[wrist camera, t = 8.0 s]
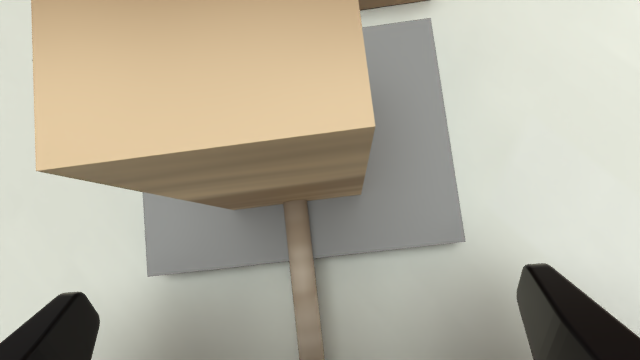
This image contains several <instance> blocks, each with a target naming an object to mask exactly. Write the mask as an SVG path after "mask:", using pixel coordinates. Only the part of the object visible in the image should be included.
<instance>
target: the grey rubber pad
mask: <svg viewBox="0 0 640 360" xmlns="http://www.w3.org/2000/svg"><path fill="white" fill-rule="evenodd" d="M362 31H363V39H364V46H365V53H366V61H367V68H368V75H369V83H370V90H371V97H372V105H373V112H374V119H375V131H374V136H373V140H372V145H371V150H370V154H369V159H368V164H367V169H366V173H365V178H364V183H363V188H362V192H361V195H353V196H345V197H337V198H328V199H320V200H312V201H307V207H308V216H309V225H310V234H311V243H312V252H313V258H322V257H331V256H340V255H349V254H358V253H367V252H376V251H385V250H394V249H403V248H412V247H421V246H430V245H439V244H448V243H457V242H465V236H464V229H463V223H462V216H461V210H460V204H459V197H458V191H457V184H456V178H455V171H454V165H453V159H452V152H451V146H450V139H449V133H448V127H447V120H446V114H445V107H444V101H443V95H442V88H441V82H440V75H439V69H438V62H437V56H436V50H435V43H434V37H433V30H432V24H431V18H427V19H420V20H413V21H405V22H398V23H391V24H384V25H377V26H370V27H363V28H362ZM143 206H144V224H145V241H146V258H147V275H148V277H150V276H159V275H168V274H177V273H186V272H195V271H204V270H213V269H222V268H231V267H240V266H249V265H258V264H267V263H276V262H285V261H289V254H288V244H287V235H286V225H285V216H284V206H283V204H279V205H271V206H263V207H255V208H247V209H238V210H231V209H226V208H220V207H215V206H210V205H205V204H200V203H195V202H190V201H185V200H180V199H175V198H170V197H165V196H160V195H155V194H150V193H145V192H143Z"/></svg>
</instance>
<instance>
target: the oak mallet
mask: <svg viewBox="0 0 640 360" xmlns="http://www.w3.org/2000/svg"><path fill="white" fill-rule="evenodd" d="M31 9H32V45H33V81H34V117H35V153H36V171H39V172H44V173H49V174H54V175H59V176H64V177H69V178H74V179H79V180H84V181H89V182H94V183H100V184H105V185H110V186H115V187H120V188H125V189H130V190H135V191H140V192H145V193H150V194H155V195H160V196H165V197H170V198H175V199H180V200H185V201H190V202H195V203H200V204H205V205H210V206H215V207H220V208H226V209H231V210H238V209H247V208H255V207H263V206H271V205H279V204H283V206H284V216H285V225H286V235H287V244H288V254H289V263H290V273H291V283H292V292H293V302H294V311H295V321H296V331H297V340H298V350H299V359H300V360H325V359H324V350H323V341H322V332H321V323H320V314H319V305H318V296H317V287H316V279H315V270H314V261H313V252H312V243H311V234H310V225H309V216H308V207H307V201H312V200H320V199H328V198H337V197H345V196H353V195H361V192H362V188H363V183H364V178H365V173H366V169H367V164H368V159H369V154H370V150H371V145H372V140H373V136H374V131H375V119H374V112H373V105H372V97H371V90H370V83H369V75H368V68H367V61H366V53H365V46H364V39H363V31H362V24H361V17H360V9H359V2H358V0H31Z"/></svg>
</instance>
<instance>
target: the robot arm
mask: <svg viewBox="0 0 640 360" xmlns="http://www.w3.org/2000/svg"><path fill="white" fill-rule="evenodd" d="M517 302H518V306H519V310H520V313H521V317H522V320H523V324H524V327H525V331H526V334H527V338H528V341H529V345H530V349H531V352H532V356H533V359H534V360H640V338H639V337H638V336H637V335H636V334H634V333H633V332H632V331H631V330H629V329H628V328H627V327H626V326H625V325H623V324H622V323H621V322H620V321H618V320H617V319H616V318H615V317H613V316H612V315H611V314H610V313H608V312H607V311H606V310H605V309H603V308H602V307H601V306H600V305H598V304H597V303H596V302H595V301H593V300H592V299H591V298H590V297H589V296H587V295H586V294H585V293H584V292H582V291H581V290H580V289H579V288H577V287H576V286H575V285H574V284H572V283H571V282H570V281H569V280H567V279H566V278H565V277H564V276H562V275H561V274H560V273H559V272H557V271H556V270H555V269H554V268H552V267H551V266H550V265H548V264H543V263H541V264H527V265H525V266H524V267H523V270H522V273H521V277H520V281H519V284H518V288H517ZM99 325H100V319H99V315H98V313H97V312H96V310H95V309H94V307H93V306H92V304H91V303H90V301H89V300H88V298H87V297H86V295H85V294H83V293H82V292H68V293H62V294H60V295H58V296H57V297H56V298H54V299H53V300H52V301H51V302H50V303H48V304H47V305H46V306H45V307H44V308H42V309H41V310H40V311H39V312H37V313H36V314H35V315H34V316H33V317H31V318H30V319H29V320H28V321H27V322H25V323H24V324H23V325H22V326H21V327H19V328H18V329H17V330H16V331H14V332H13V333H12V334H11V335H10V336H8V337H7V338H6V339H5V340H4V341H2V342H1V343H0V360H91V358H92V354H93V350H94V346H95V342H96V338H97V334H98V330H99Z"/></svg>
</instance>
